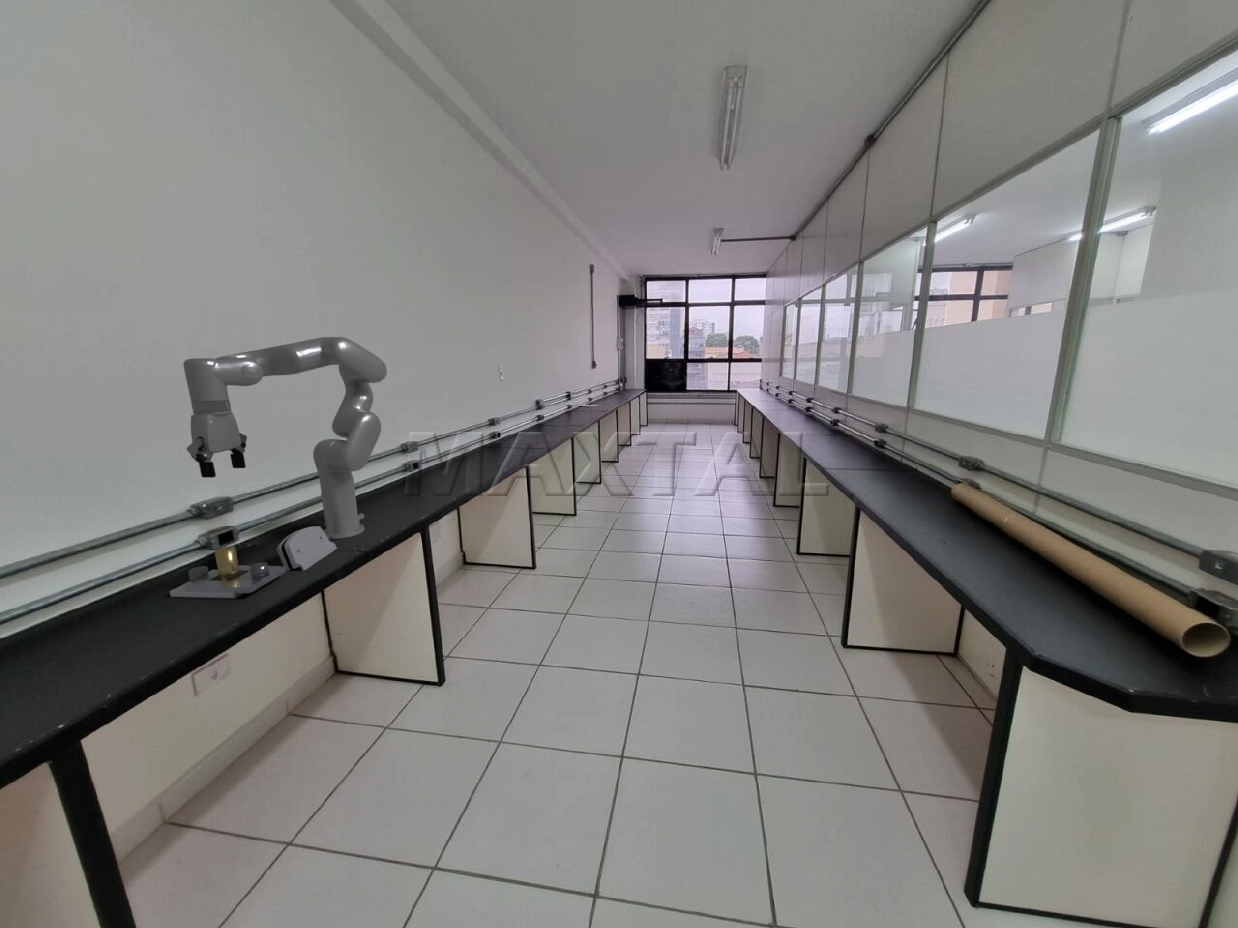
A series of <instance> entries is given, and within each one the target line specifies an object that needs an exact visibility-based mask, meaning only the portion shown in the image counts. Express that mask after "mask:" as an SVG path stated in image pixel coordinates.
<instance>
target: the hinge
mask: <svg viewBox="0 0 1238 928" xmlns="http://www.w3.org/2000/svg"><path fill="white" fill-rule="evenodd" d="M323 530H324V529H323V528H322V526H319V525H318V526H316V525H315V526H308V527H305V528H301V529H298V530H296V531H294V532H292V533H291V534H289V535H287V536H286V537H285V538H284V539H283V540H282V541H280V543H279V544H278V545H277V548H276V551H277V553H278V556H279V558H280V560H281V563H282V565H283V566H285V568H286V572H289V571H291V570H292V569H293V570H294V569H297V568H299V567H300V569H301V572H303V571H304V570H305V571H306V570H308V569H309V568H310V567H312V566H313V565H315V564H316V563H318V562H319V561H321V560H323V558H325V557H327V556H328V555H329V554H331V553H332V552H334V551H335V550H338V547H337V546H336V543H334V542H332V541H330V539H328V538H327V536H326V535H325V533H324V532H323ZM317 561H318V562H317ZM314 563H315V564H314ZM305 571H304V572H305Z"/></svg>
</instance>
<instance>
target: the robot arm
mask: <svg viewBox="0 0 1238 928" xmlns="http://www.w3.org/2000/svg"><path fill="white" fill-rule="evenodd" d="M182 366H183V370H184V375H185V380H186V384H187V389H188V394H189V398H190V403H191V404H190V405H191V409H192V413H193V414H191V415H190V434H191V442H192V443H190V444H189V445H188V446H187V447H186V451H187V452H188V453H189V455H190V457H191V458H192V459H193V460H195V462H196V463H198V465H199V470H200V476H201V478H207V479H208V478H211V479H212V478H216V476H217V474H216V469H215V464H214V462H213V461H212V458H213V456H214V454H218V453H221V452H222V453H223V452H226V451H230V452H231V453H230V460H231V465H232V466H231V467H232V469H246V467H247V466H246V462H245V460H246V459H245V455H244V454H245V452H246V450H245V449H246V447H247V441H248V437H247V435H246V434H243V433H241V432H240V431H239V427H238V423H237V420H236V418H235V415H234V413H233V412H234V411H232V407H231V402H230V397H229V396H230V395H229V391H228V386H236V387H237V386H240V387H251V386H254V385H256V384H258V383H260V382H261V381H262V380H263V377H272V376H273V377H274V376H291V375H298V374H302V373H305V372H309V371H312V370H313V371H314V370H316V369H320V368H325V367H328V366H338V372H339V375H340V377H341V379H342V381H343V383H344V388H345V394H344V397H343V399H342V401H341V403H340V405H339V408H338V410H337V412H336V414H335V416H334V418H333V420H332V423H331V429H332V432H333V433H334V434H335V435H336V436H337V437H340V438H345V439H346V440H345V439H338V438H337V439H336V438H328V439H323V440H321V441H319V442H318V443H316V444H315V447H314V448H313V450H312V452H313V453H312V457H313V461H314V464H315V467H316V470H317V473H318V478H319V485H320V491H321V492H320V493H321V501H322V507H323V508H322V509H323V510H322V511H323V514H324V515H323V517H324V524H325V528H324V529H322V530H323V532H324V533H325V535H326V536H327V538H328V539H329V540H341V539H346V538H347V539H348V538H352V537H355V536H358V535H361V534H362V533H363V532H364V531H365V525H364V524H361V523H360V522H361V521H360V520H362V519H364V518H365V514H364V513H361V512H360V513H359V514H358V507H357V498H356V488H355V486H356V485H355V479H354V475H353V473H352V472H356V471H357V472H358V471H359V470H361V469H363V468H364V467H365V466H366V465H367V464H368V462H369V460H370V458H371V455H372V454H373V452H374V449H375V447H376V444H377V443H378V440H379V438H380V435H381V432H382V424H381V423H382V422H381V420H380V417H379V416H378V414H376V413H374V412H372V411H371V409H372V407H373V403H374V393H373V390H372V387H371V385H370V383H371V384H376V383H381V382H383V380H384V379H385V378H386V376H387V373H388V370H387V365H386V364H385V362H384V361H383V359H381V358H380V357H379V356H377V355H375V353H373V352H371V351H369V350H368V349H367V348H365V347H363V346H362V345H360V344H358V343H357V342H356V341H353V340H352V339H349V338H347V337H345V336H344V337H343V336H324V337H323V336H322V337H316V338H312V339H305V340H301V341H298V342H292V343H286V344H282V345H281V344H280V345H276V346H270V347H266V348H261V349H254V350H250V351H249V350H248V351H244V352H238V353H233V354H228V355H223V356H219V357H216V358H212V357H211V358H207V357H206V358H200V357H199V358H198V357H197V358H187V359H185V360H184V362H183V364H182Z"/></svg>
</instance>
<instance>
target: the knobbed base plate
mask: <svg viewBox="0 0 1238 928" xmlns="http://www.w3.org/2000/svg"><path fill="white" fill-rule="evenodd" d="M238 566H239V572H240V577H238V578H236V579H234V580H232V581H220V578H219V572H218V569H212V570H210V571H209V568H208V566H205V565H203V566H202V565H201V566H197V567H192V568H190V569H189V570H188V576H189V581H187V582H186V583H183V584H181V585H180V586H177V587H176V588H173V589H171V590H169V593H170V594H169V595H170V597H171V598H196V599H197V598H199V599H200V598H201V599H205V598H206V599H237V598H238V597H240V596H242V595H244V594H251V593H253V592H255V591H257V590H258V589H260V588H261V587H263V586H264V585H266V584H268V583H270V582H271V581H273V580H274V579H276V578H278V577H280V576H281V575H283V574H285V573H287V571H286V568H285V566H281V565H269V564H268V562H267V561H266V562H264V561H261V562H260V561H259V562H255V563H253V564H251V565H246V564H245V565H241V564H238Z"/></svg>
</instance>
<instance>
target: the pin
mask: <svg viewBox="0 0 1238 928" xmlns="http://www.w3.org/2000/svg"><path fill="white" fill-rule="evenodd" d="M214 554H215V561H216V567H217V570H218V572H219V578H220V581H232V580H234V579H236V578H238V577H240V572H239V566H238V565H239V560H238V555H237V550H236V546H232V545H231V546H224V547H223V546H222V547H219V548H217V549H215V550H214Z"/></svg>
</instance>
